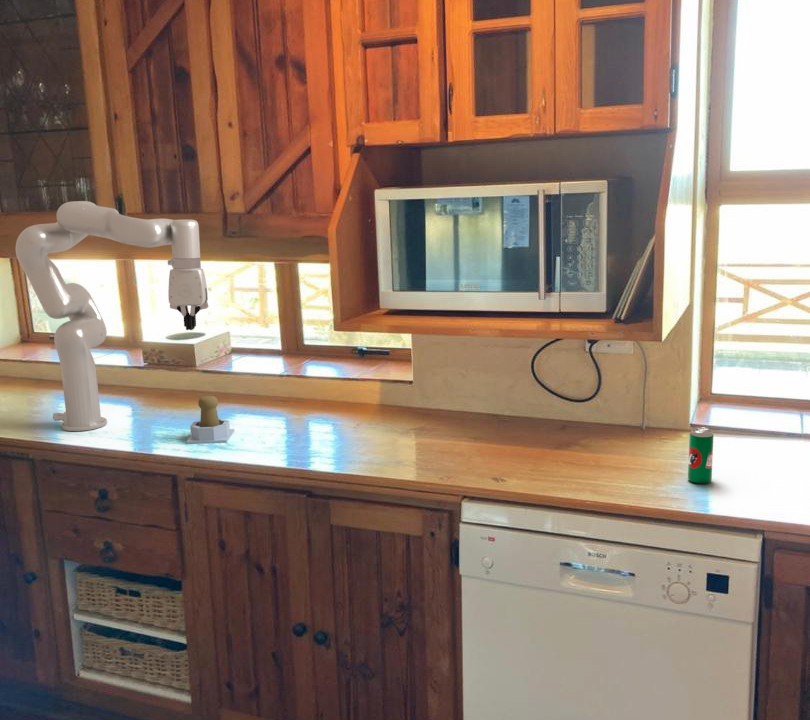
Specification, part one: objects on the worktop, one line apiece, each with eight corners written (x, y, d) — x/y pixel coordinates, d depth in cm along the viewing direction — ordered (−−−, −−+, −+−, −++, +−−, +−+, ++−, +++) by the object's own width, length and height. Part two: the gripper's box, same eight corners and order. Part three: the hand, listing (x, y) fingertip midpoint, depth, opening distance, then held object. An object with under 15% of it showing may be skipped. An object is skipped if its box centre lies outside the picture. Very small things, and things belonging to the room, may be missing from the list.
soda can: (711, 486, 189) (713, 433, 187) (686, 483, 191) (688, 431, 188) (711, 478, 194) (714, 427, 191) (688, 476, 195) (690, 425, 193)
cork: (224, 431, 241) (221, 393, 239) (218, 437, 235) (215, 399, 233) (203, 432, 242) (200, 394, 239) (196, 438, 236) (193, 399, 234)
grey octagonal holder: (186, 443, 233) (185, 429, 232) (195, 432, 244) (194, 418, 243) (226, 442, 233) (225, 428, 232) (234, 431, 244) (233, 417, 243)
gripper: (156, 265, 235) (160, 331, 239) (209, 265, 235) (213, 331, 239) (164, 263, 243) (168, 327, 247) (216, 263, 242) (219, 327, 246)
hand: (190, 329), depth 243 cm, fingers closed
